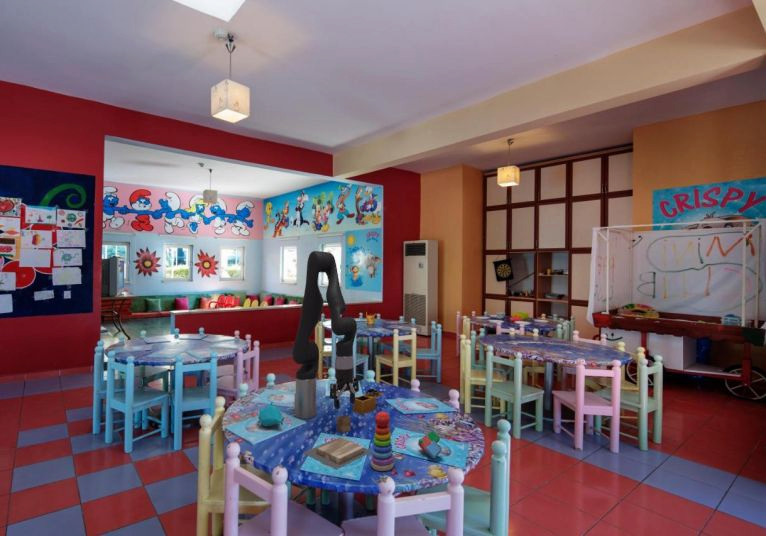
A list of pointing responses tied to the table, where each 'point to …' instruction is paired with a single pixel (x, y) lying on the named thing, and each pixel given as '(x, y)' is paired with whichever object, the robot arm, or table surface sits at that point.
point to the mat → (328, 462)
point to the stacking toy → (382, 444)
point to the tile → (340, 450)
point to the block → (343, 423)
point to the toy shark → (270, 416)
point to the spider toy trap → (366, 402)
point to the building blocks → (430, 444)
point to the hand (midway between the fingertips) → (344, 405)
